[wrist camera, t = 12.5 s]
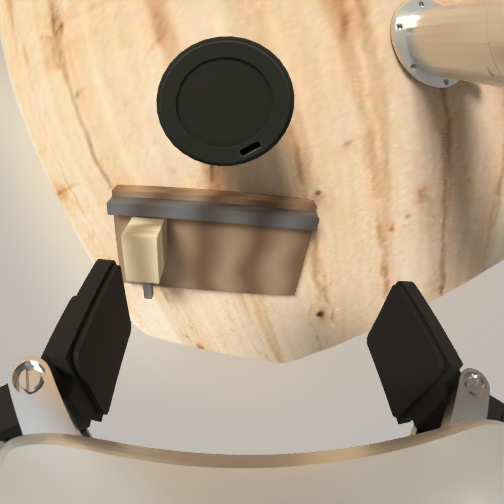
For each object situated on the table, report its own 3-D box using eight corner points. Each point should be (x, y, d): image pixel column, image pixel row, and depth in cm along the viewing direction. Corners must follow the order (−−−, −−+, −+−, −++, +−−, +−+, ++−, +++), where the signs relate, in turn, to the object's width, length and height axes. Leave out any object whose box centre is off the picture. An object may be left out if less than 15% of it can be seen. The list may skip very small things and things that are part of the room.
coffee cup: (246, 37, 27) (256, 8, 14) (287, 110, 32) (323, 134, 19) (168, 79, 29) (124, 83, 17) (211, 149, 34) (197, 197, 21)
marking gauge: (166, 213, 36) (156, 238, 31) (168, 279, 41) (161, 309, 36) (135, 211, 35) (120, 235, 30) (140, 276, 41) (130, 305, 36)
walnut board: (312, 200, 38) (320, 213, 35) (292, 286, 46) (296, 304, 42) (117, 184, 35) (106, 196, 32) (125, 274, 43) (118, 291, 39)
